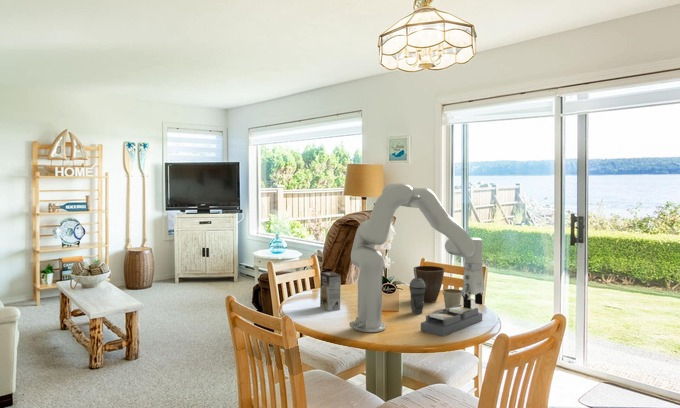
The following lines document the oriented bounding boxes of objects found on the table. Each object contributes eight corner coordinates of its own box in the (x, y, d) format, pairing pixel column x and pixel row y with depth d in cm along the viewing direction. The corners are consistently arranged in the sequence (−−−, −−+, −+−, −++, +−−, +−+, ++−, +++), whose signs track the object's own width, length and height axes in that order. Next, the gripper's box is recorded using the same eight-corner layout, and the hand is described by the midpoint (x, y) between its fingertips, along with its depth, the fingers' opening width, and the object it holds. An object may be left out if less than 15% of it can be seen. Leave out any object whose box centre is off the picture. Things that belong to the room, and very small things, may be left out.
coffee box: (319, 306, 212) (319, 272, 211) (331, 305, 215) (332, 271, 214) (328, 311, 204) (328, 275, 203) (340, 309, 207) (341, 274, 206)
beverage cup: (425, 315, 199) (425, 269, 198) (408, 314, 200) (409, 269, 199) (425, 310, 206) (426, 266, 205) (409, 309, 207) (409, 266, 206)
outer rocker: (462, 314, 184) (462, 311, 184) (449, 311, 188) (449, 308, 188) (474, 312, 191) (474, 308, 191) (461, 309, 195) (461, 306, 195)
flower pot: (439, 306, 213) (440, 288, 213) (460, 307, 213) (460, 288, 213) (443, 312, 204) (444, 293, 204) (465, 312, 204) (465, 293, 203)
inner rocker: (443, 319, 174) (443, 316, 174) (429, 316, 178) (430, 313, 178) (456, 320, 181) (456, 316, 181) (443, 316, 185) (443, 313, 185)
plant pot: (430, 306, 214) (430, 272, 214) (406, 299, 226) (407, 267, 225) (450, 301, 224) (450, 268, 223) (426, 295, 235) (427, 264, 235)
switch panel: (443, 336, 170) (443, 322, 170) (420, 330, 177) (421, 316, 177) (482, 320, 192) (482, 307, 191) (461, 315, 199) (461, 303, 198)
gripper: (470, 270, 186) (470, 311, 187) (491, 265, 198) (490, 304, 199) (454, 268, 191) (454, 308, 192) (475, 263, 204) (475, 301, 204)
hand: (472, 306), depth 196 cm, fingers open, 9 cm apart
